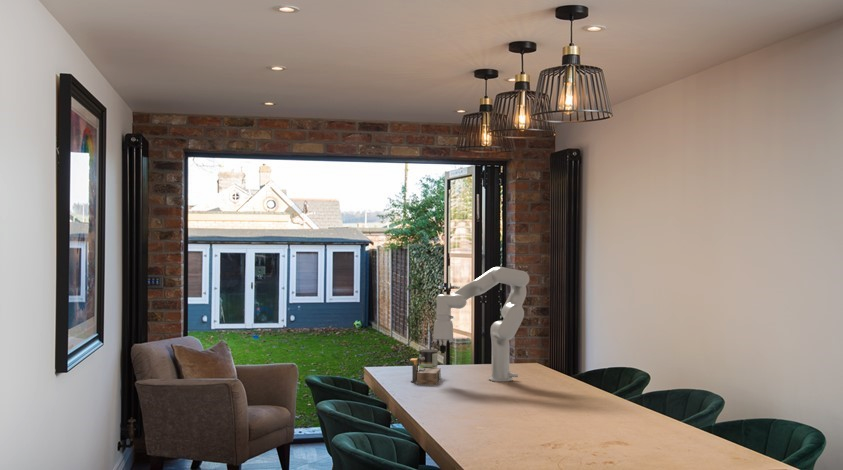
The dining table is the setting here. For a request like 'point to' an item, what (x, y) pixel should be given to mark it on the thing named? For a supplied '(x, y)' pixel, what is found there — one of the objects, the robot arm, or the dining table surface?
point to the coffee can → (427, 358)
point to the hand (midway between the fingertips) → (443, 352)
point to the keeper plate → (414, 361)
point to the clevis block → (425, 375)
